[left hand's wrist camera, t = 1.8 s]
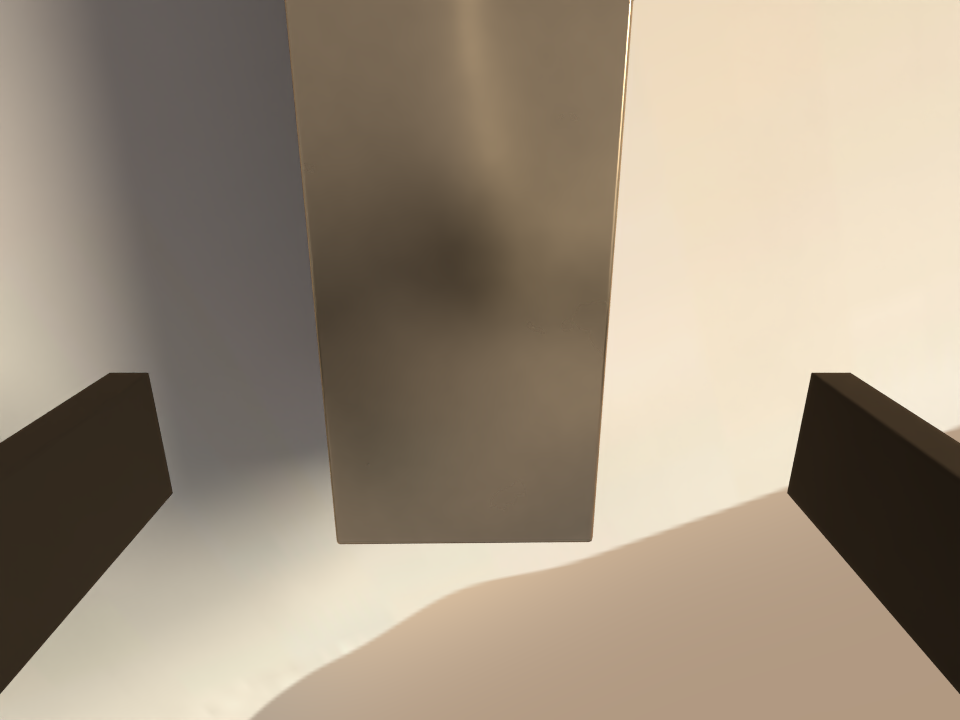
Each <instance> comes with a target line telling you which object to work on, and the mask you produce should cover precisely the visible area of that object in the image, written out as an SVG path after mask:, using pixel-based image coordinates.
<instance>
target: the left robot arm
mask: <svg viewBox="0 0 960 720" xmlns="http://www.w3.org/2000/svg"><path fill="white" fill-rule="evenodd" d="M172 493H173V492H172V487H171V482H170V477H169V472H168V467H167V462H166V457H165V452H164V447H163V443H162V438H161V433H160V428H159V423H158V418H157V413H156V408H155V403H154V398H153V393H152V388H151V383H150V378H149V374H148V373H109V374H107V375H106V376H104V377H102V378H101V379H99V380H98V381H96V382H95V383H93V384H92V385H90V386H88V387H87V388H85V389H84V390H82V391H81V392H79V393H77V394H76V395H74V396H73V397H71V398H70V399H68V400H67V401H65V402H63V403H62V404H60V405H59V406H57V407H56V408H54V409H53V410H51V411H49V412H48V413H46V414H45V415H43V416H42V417H40V418H39V419H37V420H35V421H34V422H32V423H31V424H29V425H28V426H26V427H25V428H23V429H21V430H20V431H18V432H17V433H15V434H14V435H12V436H10V437H9V438H7V439H6V440H4V441H3V442H1V443H0V694H1V692H2V691H3V690H4V689H5V688H6V687H7V685H8V684H9V683H10V682H11V681H12V680H13V678H14V677H15V676H16V675H17V674H18V673H19V671H20V670H21V669H22V668H23V667H24V666H25V664H26V663H27V662H28V661H29V660H30V659H31V657H32V656H33V655H34V654H35V653H36V652H37V650H38V649H39V648H40V647H41V646H42V645H43V643H44V642H45V641H46V640H47V639H48V638H49V637H50V635H51V634H52V633H53V632H54V631H55V630H56V628H57V627H58V626H59V625H60V624H61V623H62V621H63V620H64V619H65V618H66V617H67V616H68V614H69V613H70V612H71V611H72V610H73V609H74V607H75V606H76V605H77V604H78V603H79V602H80V600H81V599H82V598H83V597H84V596H85V595H86V593H87V592H88V591H89V590H90V589H91V588H92V586H93V585H94V584H95V583H96V582H97V581H98V579H99V578H100V577H101V576H102V575H103V574H104V572H105V571H106V570H107V569H108V568H109V567H110V565H111V564H112V563H113V562H114V561H115V560H116V558H117V557H118V556H119V555H120V554H121V553H122V552H123V550H124V549H125V548H126V547H127V546H128V545H129V543H130V542H131V541H132V540H133V539H134V538H135V536H136V535H137V534H138V533H139V532H140V531H141V529H142V528H143V527H144V526H145V525H146V524H147V522H148V521H149V520H150V519H151V518H152V517H153V515H154V514H155V513H156V512H157V511H158V510H159V508H160V507H161V506H162V505H163V504H164V503H165V501H166V500H167V499H168V498H169V497H170V496H171V494H172ZM787 493H788V494H789V496H790V497H791V498H792V499H793V500H794V501H795V503H796V504H797V505H798V506H799V507H800V508H801V510H802V511H803V512H804V513H805V514H806V515H807V516H808V518H809V519H810V520H811V521H812V522H813V524H814V525H815V526H816V527H817V528H818V529H819V530H820V532H821V533H822V534H823V535H824V536H825V538H826V539H827V540H828V541H829V542H830V543H831V545H832V546H833V547H834V548H835V549H836V550H837V551H838V553H839V554H840V555H841V556H842V557H843V558H844V560H845V561H846V562H847V563H848V564H849V565H850V567H851V568H852V569H853V570H854V571H855V572H856V574H857V575H858V576H859V577H860V578H861V579H862V581H863V582H864V583H865V584H866V585H867V586H868V588H869V589H870V590H871V591H872V592H873V593H874V595H875V596H876V597H877V598H878V599H879V600H880V602H881V603H882V604H883V605H884V606H885V607H886V609H887V610H888V611H889V612H890V613H891V614H892V616H893V617H894V618H895V619H896V620H897V621H898V623H899V624H900V625H901V626H902V627H903V628H904V629H905V631H906V632H907V633H908V634H909V635H910V637H911V638H912V639H913V640H914V641H915V642H916V643H917V645H918V646H919V647H920V648H921V649H922V650H923V652H924V653H925V654H926V655H927V656H928V657H929V659H930V660H931V661H932V662H933V663H934V664H935V666H936V667H937V668H938V669H939V670H940V671H941V673H942V674H943V675H944V676H945V677H946V678H947V680H948V681H949V682H950V683H951V684H952V685H953V687H954V688H955V689H956V690H957V691H958V692H959V694H960V443H959V442H957V441H956V440H954V439H953V438H951V437H949V436H948V435H946V434H945V433H943V432H942V431H940V430H939V429H937V428H935V427H934V426H932V425H931V424H929V423H928V422H926V421H925V420H923V419H921V418H920V417H918V416H917V415H915V414H914V413H912V412H911V411H909V410H907V409H906V408H904V407H903V406H901V405H900V404H898V403H897V402H895V401H893V400H892V399H890V398H889V397H887V396H886V395H884V394H883V393H881V392H879V391H878V390H876V389H875V388H873V387H872V386H870V385H868V384H867V383H865V382H864V381H862V380H861V379H859V378H858V377H856V376H854V375H853V374H851V373H812V374H811V378H810V383H809V388H808V393H807V398H806V403H805V408H804V413H803V418H802V423H801V428H800V433H799V438H798V443H797V447H796V452H795V457H794V462H793V467H792V472H791V477H790V482H789V487H788V492H787Z"/></svg>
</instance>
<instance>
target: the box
mask: <svg viewBox="0 0 960 720" xmlns="http://www.w3.org/2000/svg"><path fill="white" fill-rule="evenodd" d="M285 9H286V20H287V30H288V41H289V51H290V61H291V72H292V82H293V92H294V103H295V113H296V123H297V134H298V144H299V154H300V165H301V175H302V185H303V196H304V206H305V217H306V227H307V237H308V248H309V258H310V268H311V279H312V289H313V299H314V310H315V320H316V330H317V341H318V351H319V361H320V372H321V382H322V393H323V403H324V413H325V424H326V434H327V444H328V455H329V465H330V475H331V486H332V496H333V506H334V517H335V527H336V538H337V542H338V544H406V543H519V542H590V541H591V540H592V537H593V524H594V511H595V497H596V484H597V471H598V458H599V445H600V432H601V418H602V405H603V392H604V379H605V366H606V353H607V339H608V326H609V313H610V300H611V287H612V273H613V260H614V247H615V234H616V221H617V208H618V194H619V181H620V168H621V155H622V142H623V129H624V115H625V102H626V89H627V76H628V63H629V49H630V36H631V23H632V10H633V0H285Z"/></svg>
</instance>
